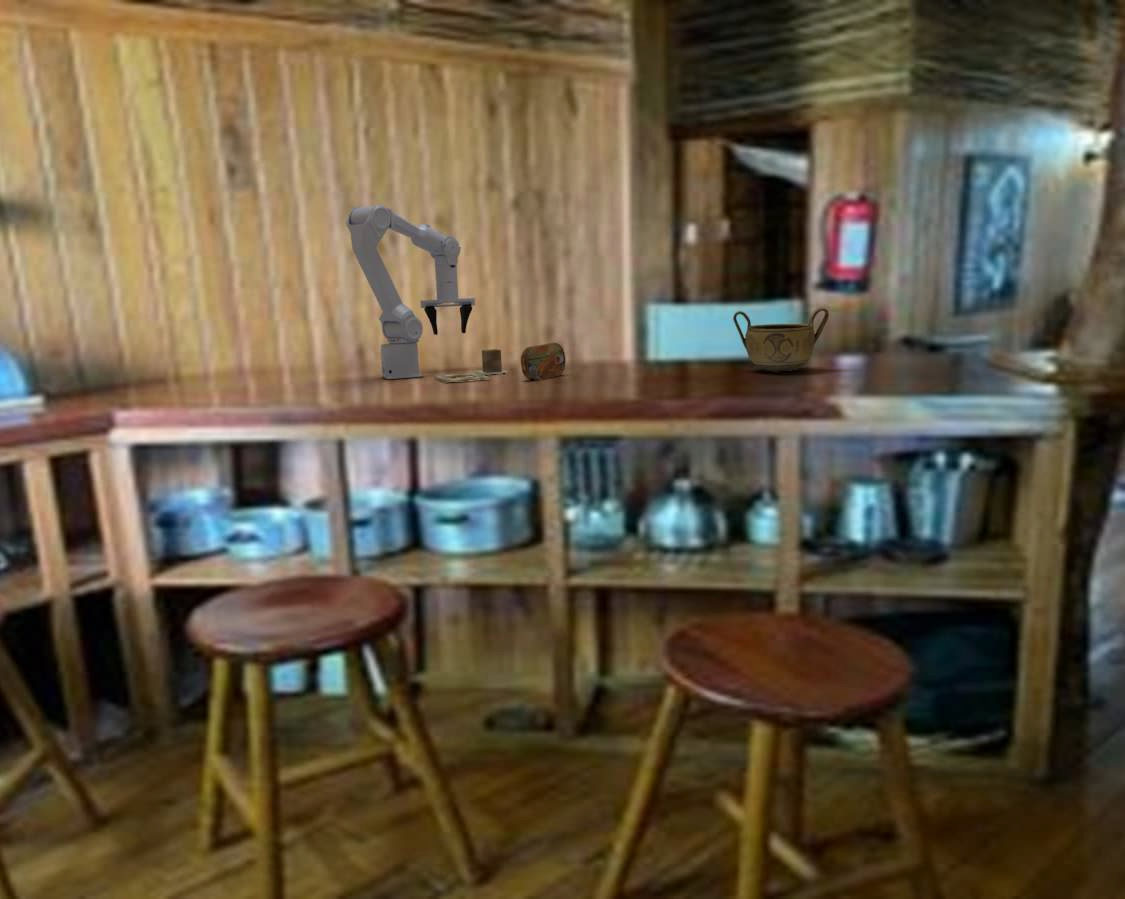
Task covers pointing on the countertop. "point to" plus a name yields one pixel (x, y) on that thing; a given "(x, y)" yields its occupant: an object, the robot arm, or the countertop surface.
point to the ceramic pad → (491, 372)
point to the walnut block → (491, 360)
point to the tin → (543, 361)
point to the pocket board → (448, 378)
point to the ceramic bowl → (780, 343)
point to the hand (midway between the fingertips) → (449, 333)
